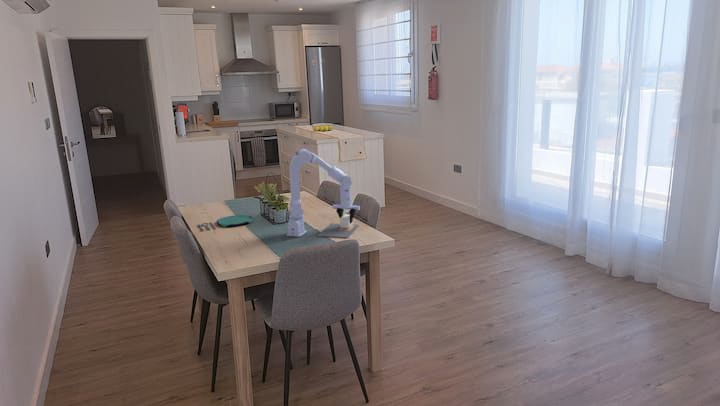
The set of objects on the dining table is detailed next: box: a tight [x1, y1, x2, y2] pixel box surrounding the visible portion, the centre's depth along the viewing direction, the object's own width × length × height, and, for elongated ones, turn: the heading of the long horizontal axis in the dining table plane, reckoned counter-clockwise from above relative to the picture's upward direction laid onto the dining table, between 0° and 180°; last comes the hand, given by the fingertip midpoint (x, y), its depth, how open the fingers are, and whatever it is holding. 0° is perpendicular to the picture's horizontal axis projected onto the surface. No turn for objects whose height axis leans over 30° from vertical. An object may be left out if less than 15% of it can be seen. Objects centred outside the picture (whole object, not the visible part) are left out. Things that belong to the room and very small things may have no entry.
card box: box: [339, 213, 354, 228], centre depth 263 cm, size 4×8×5 cm, turn 164°
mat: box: [316, 222, 360, 239], centre depth 260 cm, size 22×16×1 cm
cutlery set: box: [196, 214, 253, 232], centre depth 279 cm, size 20×30×2 cm, turn 117°
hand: (346, 222), depth 263 cm, fingers closed on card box, 4 cm apart
